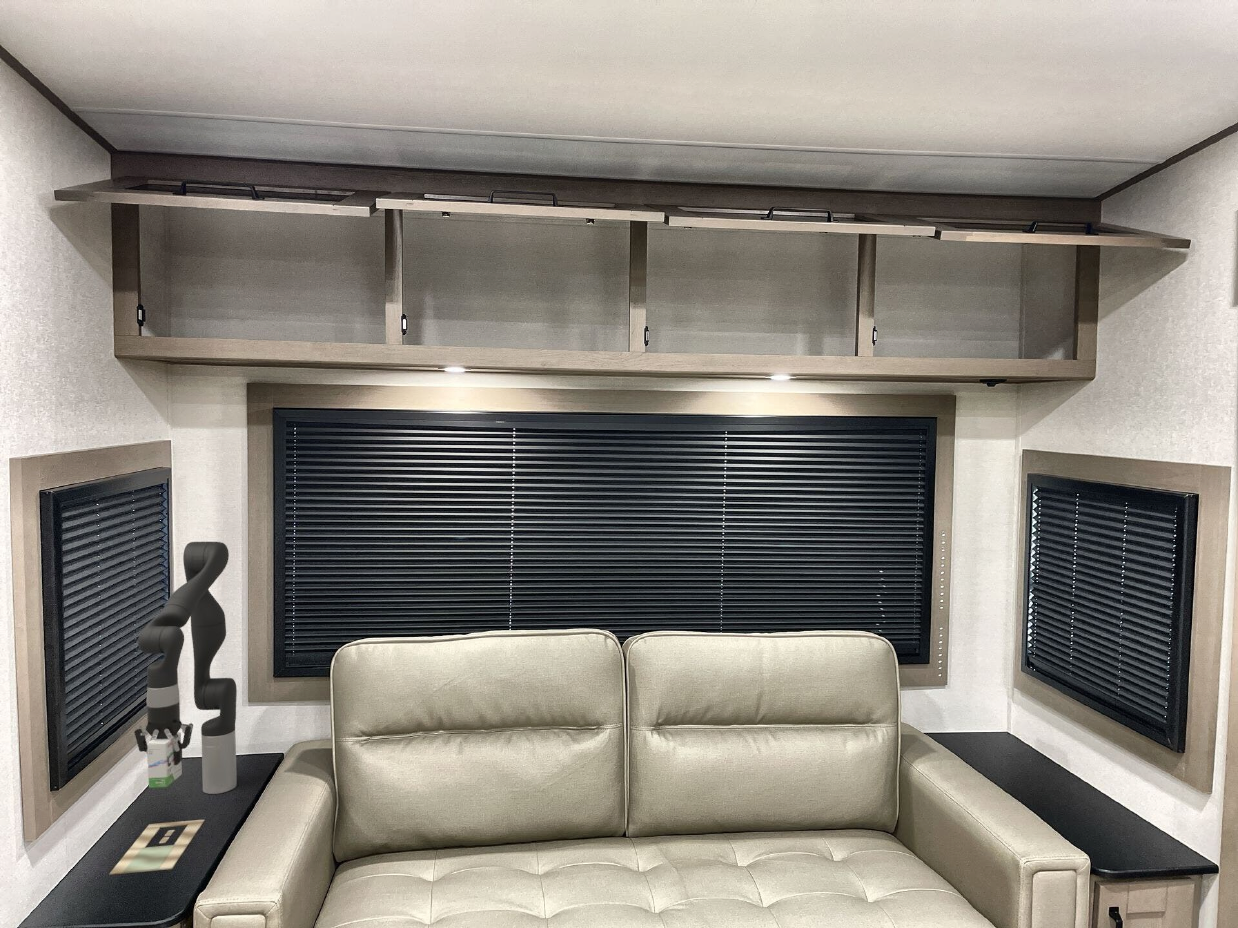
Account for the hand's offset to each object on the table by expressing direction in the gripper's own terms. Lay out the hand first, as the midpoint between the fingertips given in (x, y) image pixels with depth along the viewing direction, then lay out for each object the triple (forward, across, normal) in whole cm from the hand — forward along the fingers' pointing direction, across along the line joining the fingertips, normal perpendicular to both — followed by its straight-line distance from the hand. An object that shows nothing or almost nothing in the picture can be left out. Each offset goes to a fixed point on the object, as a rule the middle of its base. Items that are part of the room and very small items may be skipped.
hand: (165, 764), depth 221 cm
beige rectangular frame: (+19, 0, +6) cm, 20 cm away
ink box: (+5, 0, 0) cm, 5 cm away
